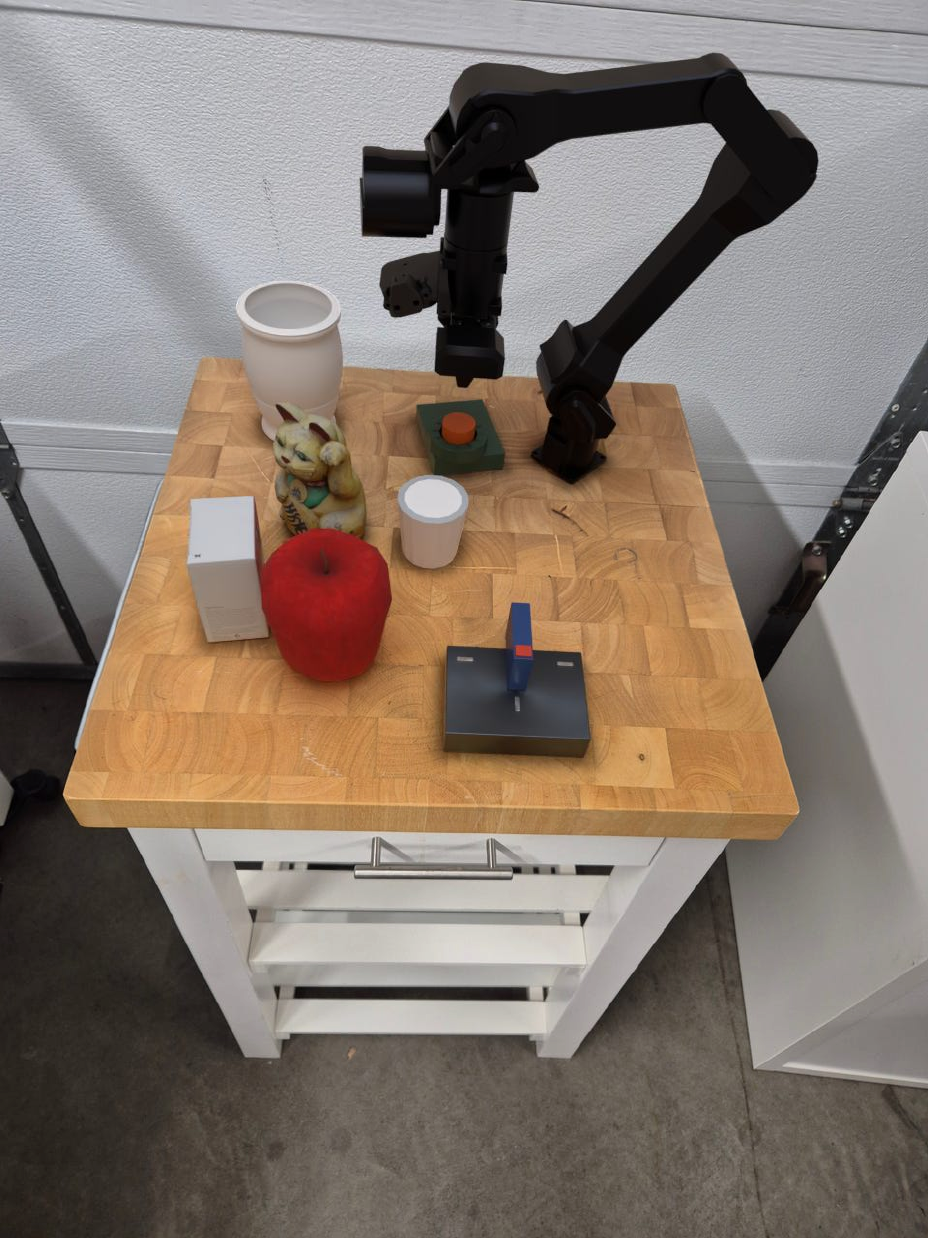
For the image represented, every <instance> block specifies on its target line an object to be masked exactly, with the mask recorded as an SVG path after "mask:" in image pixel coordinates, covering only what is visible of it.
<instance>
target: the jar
mask: <svg viewBox="0 0 928 1238" xmlns="http://www.w3.org/2000/svg"><path fill="white" fill-rule="evenodd" d="M235 312H236V318H237V320H238V322H239V323H240V325H241V337H240V339H241V340H240V341H241V343H240V345H241V347H240V348H241V356H242V364H243V369H244V372H245V376H246V379H247V382H248V384H249V387H250V390H251V394H252V397H253V401H254V403H255V405H256V407H257V409H258V411H259V413H260V415H262V418H261V429H262V431H263V433H264V434H265V435H266V437H268V439H269V440H272V441H273V442H274V441H275V436H276V433H277V431H278V429H279V427H280V426H281V424H282V423H283V422H284V420H283V418H282V416H281V415H280V413H279V412H278V410H277V408H276V405H275V404H278V403H281V402H284V403H291V404H294V405H296V406H298V407H300V408H301V409H302V410H303V411H304V412H305V413H306V414H313V415H319V416H322V417H325V418H327V419H329V420H331V421H332V422H334V423H335V424H336V425H337V418H336V417H335V411H336V409H337V407H338V403H339V399H340V391H341V386H342V385H341V384H342V378H343V369H344V353H343V344H342V338H341V334H340V330H339V326H338V325H339V323H340V321H341V317H342V306H341V303H340V301H339V299H338V298H337V297H336V295H334V294H333V293H332V292H331V291H329V290H328V289H326V288H324V287H323V286H322V287H321V286H320V285H317V284H313V283H310V282H305V281H299V280H274V281H269V282H264V283H260V284H256V285H255V286H253V287H250V288H248V289H246V290H245V291H244V292H243V293H242V294H241V295H240V296H239V297H238V299H237V301H236V305H235Z"/></svg>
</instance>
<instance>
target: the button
mask: <svg viewBox="0 0 928 1238" xmlns="http://www.w3.org/2000/svg"><path fill="white" fill-rule="evenodd" d="M475 425H476V423H475V420H474V419H473V418H472V417H471V416H470V415H468V414H465V413H461V412H454V413H450V414H448V415H446V416H445V417H444V418H443V422H442V437H443V439H444V440H445V441H447V442H448V443H451V444H455V445H463V444H469V443H470V442H472V440H473V439H474V434H475Z"/></svg>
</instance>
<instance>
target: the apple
mask: <svg viewBox="0 0 928 1238" xmlns="http://www.w3.org/2000/svg"><path fill="white" fill-rule="evenodd" d="M260 579H261V604H262V610H263V613H264V615H265V617H266V619H267V622H268V626H269V628H270V631H271V633H272V635H273V638H274V640H275V643H276V645H277V647H278V651H279V653H280V655H281V658H283V660H284V661H285V662H286V663H287V665H288V666H289V668H290V669H291V670H293V671H295V672H297V673H299V674H301V675H302V676H304V677H306V678H307V677H308V678H310V679H315V680H318V681H322V682H333V681H336V682H337V681H344V680H348V679H350V678H353V677H356V676H359V675H361V674H362V673H363V672H365V671H366V670H367V669H368V668H369V667H370V666H371V665H372V664H373V663H374V662H375V659H376V657H377V655H378V652H379V650H380V647H381V642H382V639H383V634H384V629H385V625H386V622H387V618H388V615H389V613H390V612H389V611H390V608H391V605H392V601H393V595H392V588H391V580H390V571H389V564H388V562H387V561H386V559H385V557H384V556H383V555H382V553H381V552H380V551H379V548H378V547H377V546H375V545H372V544H371V543H368V542H367V541H365V540H363V539H362V538H360V539H359V538H357V537H355V536H354V535H352V534H348V533H345V532H342V531H339V530H335V529H318V528H313V529H310V530H308V531H305V532H303V533H300V534H298V535H294V536H292V537H290V538H289V539H288V540H286V541H285V542H284V543H282V544H281V545H279V547H277V548H276V549H275V550H274V551H273V552H272V553H271V554H270V556H269V557H268V559H267V560H266V561H265V564H264V566H263V567H262V569H261V570H260Z"/></svg>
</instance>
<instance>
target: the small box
mask: <svg viewBox="0 0 928 1238" xmlns="http://www.w3.org/2000/svg"><path fill="white" fill-rule="evenodd" d="M256 503H257V502H256V497H255V496H254V495H245V496H244V495H242V496H241V495H240V496H224V497H222V496H221V497H204V498H202V497H201V498H191V499H190V500H189V524H188V525H189V526H188V541H187V542H188V543H187V554H186V562H185V565H186V569H187V572H188V576H189V580H190V583H191V586H192V591H193V595H194V599H195V603H196V607H197V610H198V613H199V617H200V621H201V624H202V629H203V631H204V634H205V638H206V641H207V643H219V642H229V641H241V640H252V639H263V638H269V637H270V629H269V628H270V626H269V624H268V622H267V619H266V617H265V615H264V613H263V610H262V604H261V579H260V570H261V569H262V567H263V566H264V564H265V563H266V561H265V555H264V548H263V547H264V546H263V543H262V537H261V529H260V522H259V516H258V509H257V504H256Z"/></svg>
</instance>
